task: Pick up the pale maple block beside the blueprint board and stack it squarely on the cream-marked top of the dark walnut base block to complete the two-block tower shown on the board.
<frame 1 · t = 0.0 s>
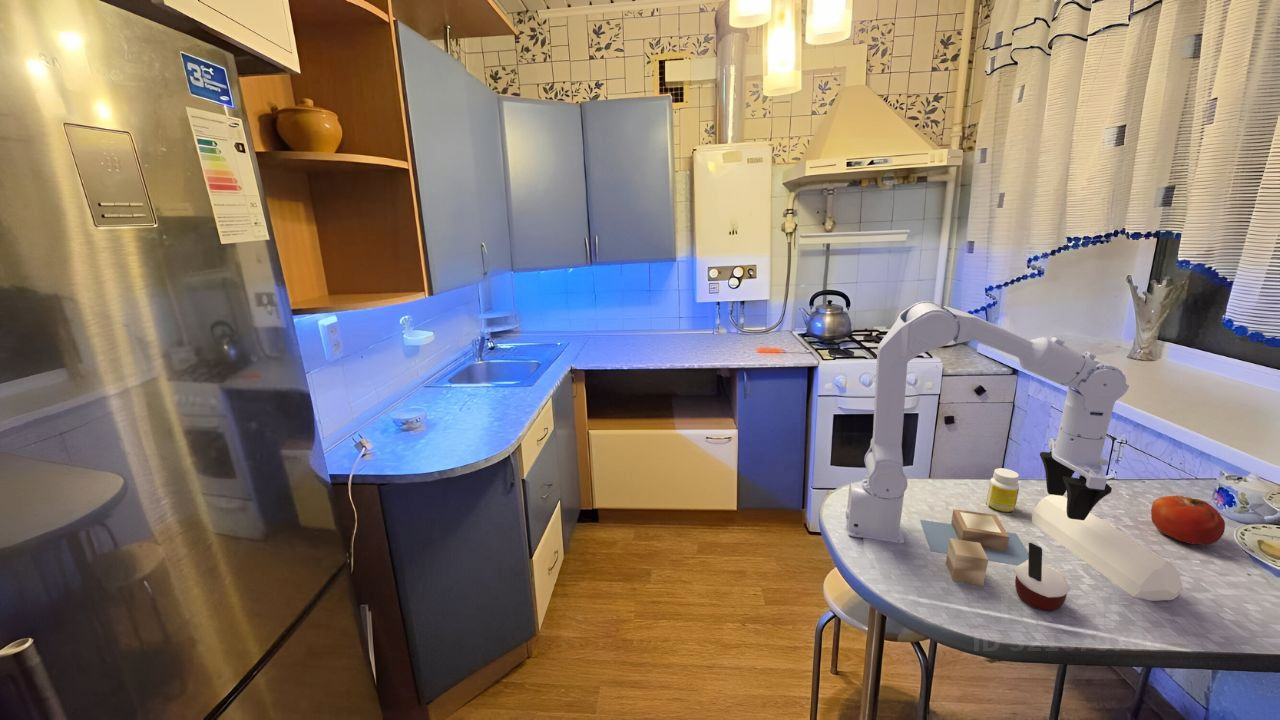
hand: (1064, 505, 84), 10 cm above the table, tool pointing down, fingers open, 7 cm apart
supplement bottle: (999, 510, 101), on the table
maple block: (963, 576, 83), on the table
blueprint board: (973, 544, 90), on the table
walnut base block: (977, 536, 92), resting on blueprint board
cocoa: (1034, 603, 77), on the table
crystal: (1096, 559, 86), on the table
tomato: (1180, 537, 91), on the table
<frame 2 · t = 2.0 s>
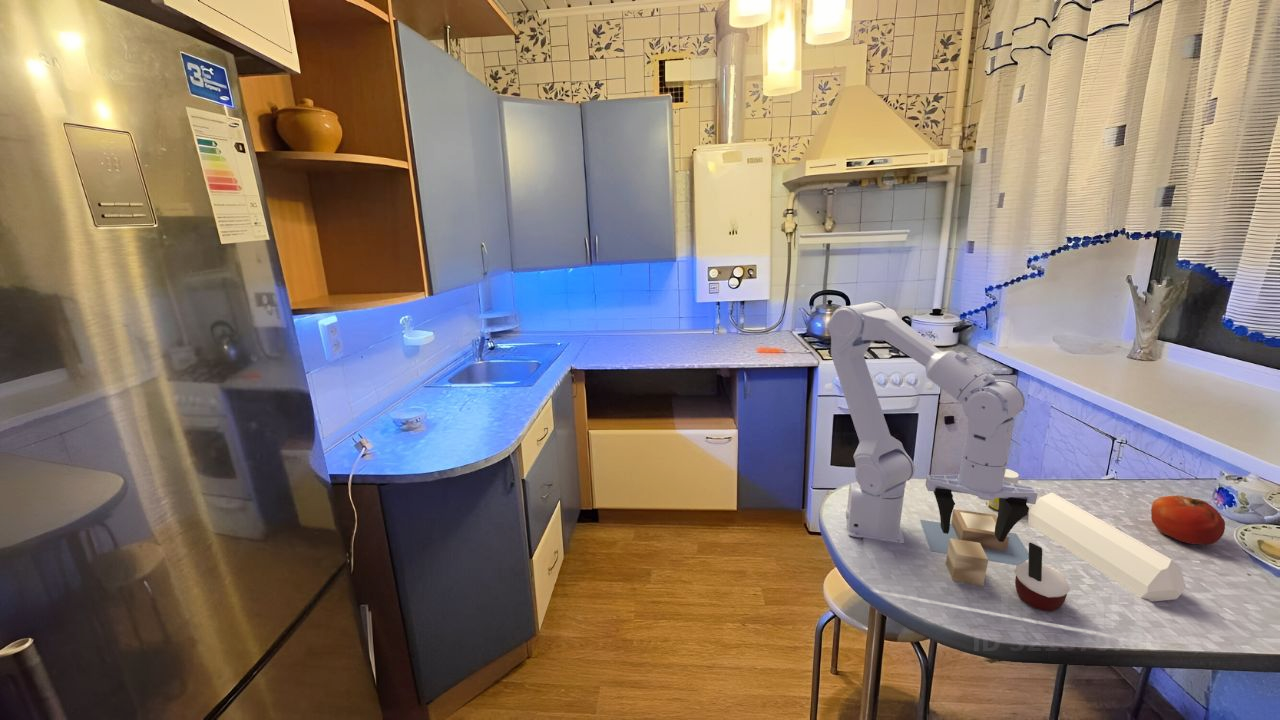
hand: (971, 534, 80), 8 cm above the table, tool pointing down, fingers open, 7 cm apart
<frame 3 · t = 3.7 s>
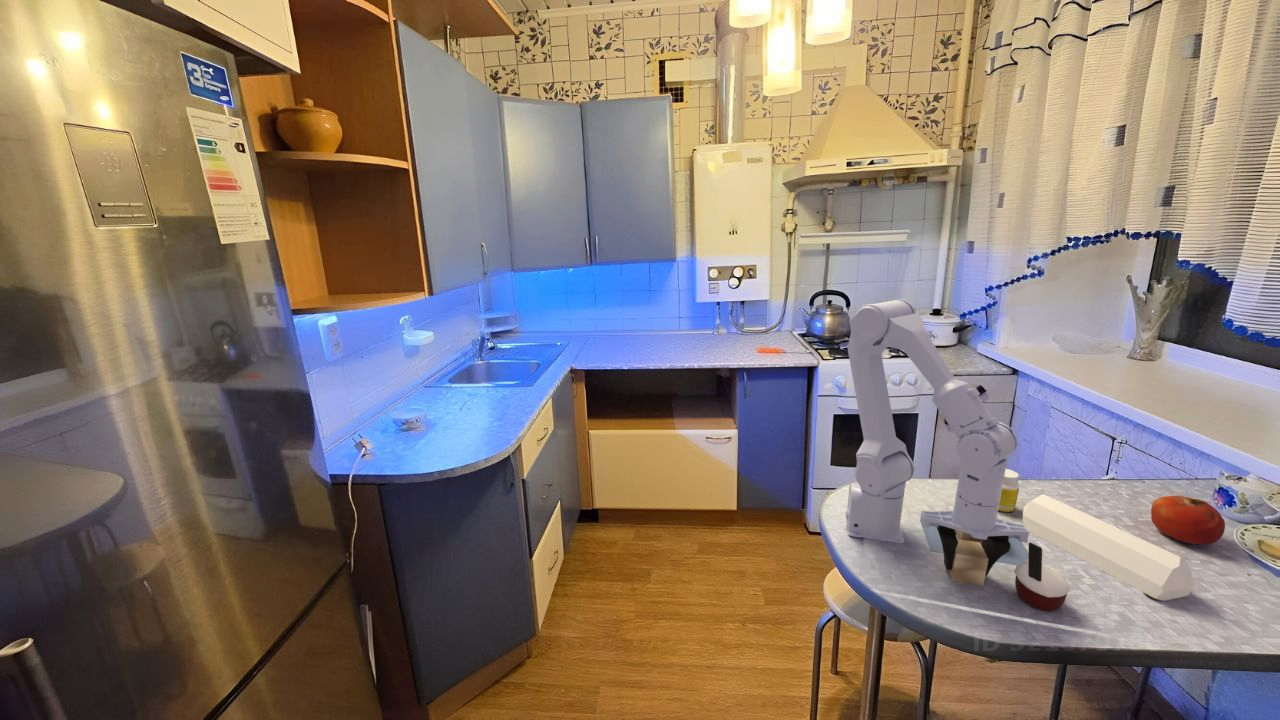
hand: (964, 569, 82), 1 cm above the table, tool pointing down, fingers closed on maple block, 4 cm apart
maple block: (963, 576, 83), on the table, touching gripper
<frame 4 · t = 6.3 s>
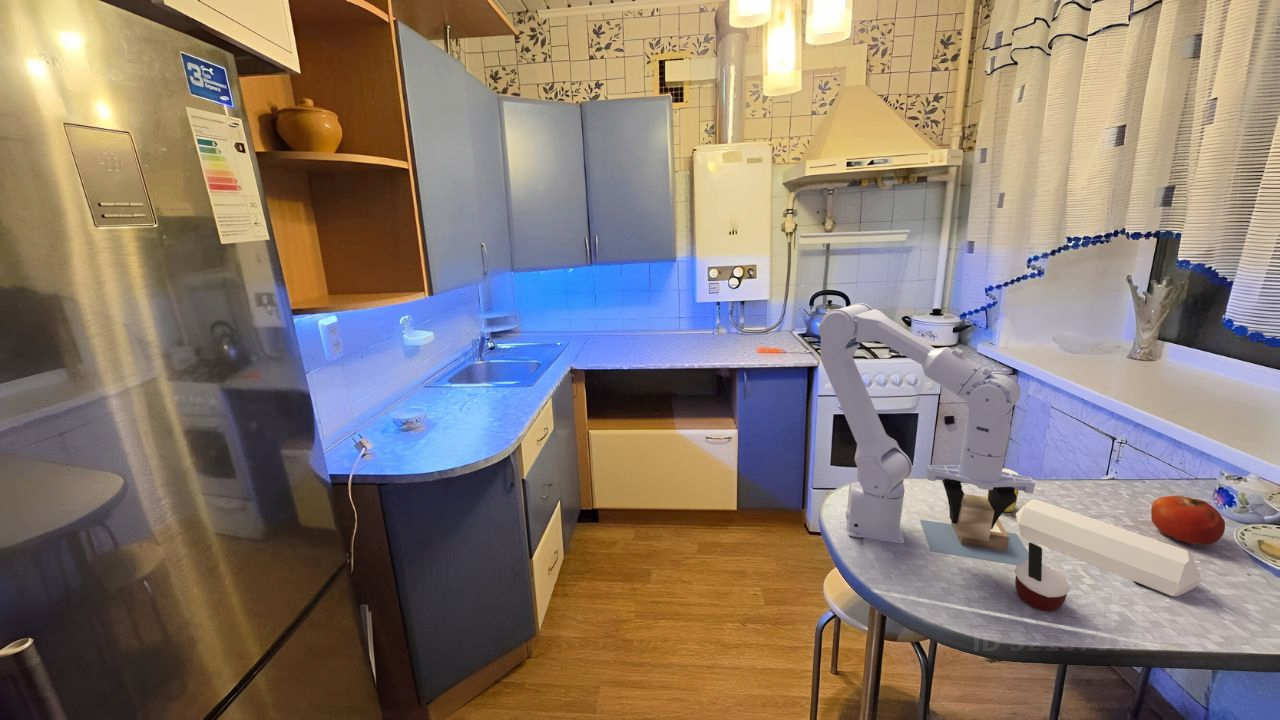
hand: (970, 522, 83), 9 cm above the table, tool pointing down, fingers closed on maple block, 4 cm apart
maple block: (969, 530, 83), point 7 cm above the table, touching gripper
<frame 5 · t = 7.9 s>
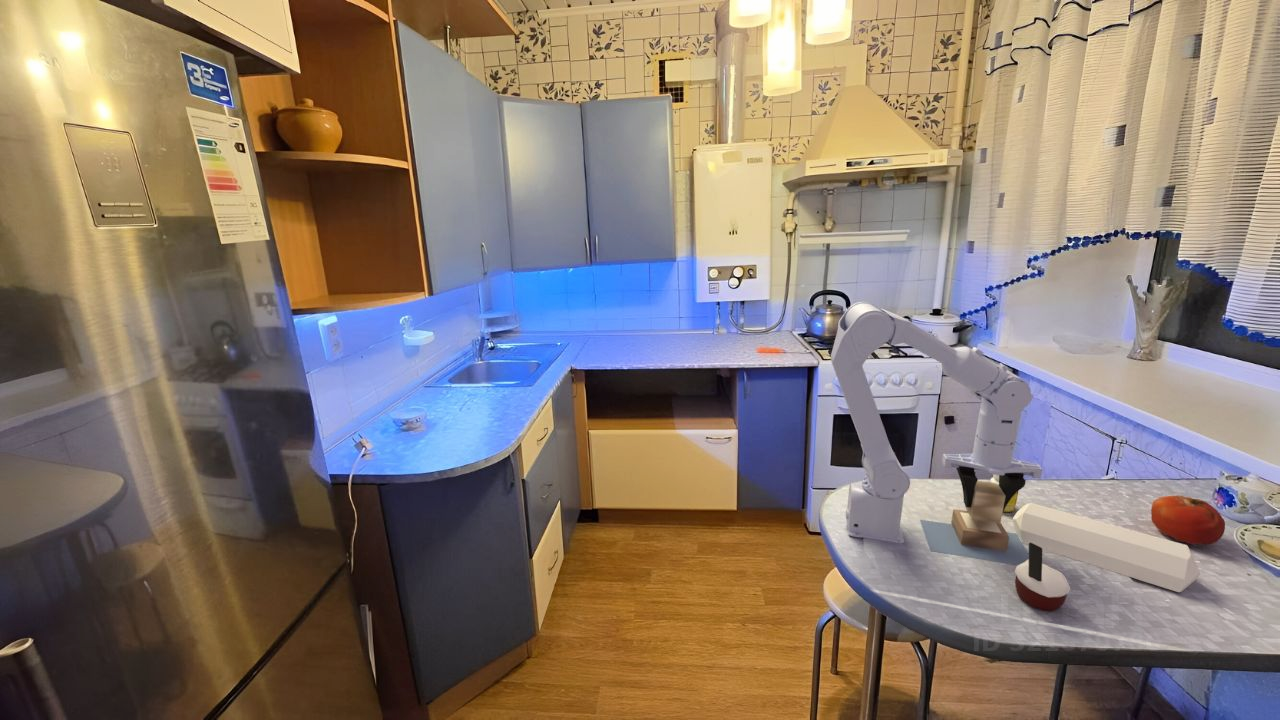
hand: (983, 506, 90), 7 cm above the table, tool pointing down, fingers closed on maple block, 4 cm apart
maple block: (982, 514, 90), point 5 cm above the table, touching gripper
when the fingers open (6 cm above the table, at t = 9.3 s): maple block stays where it is, resting on walnut base block.
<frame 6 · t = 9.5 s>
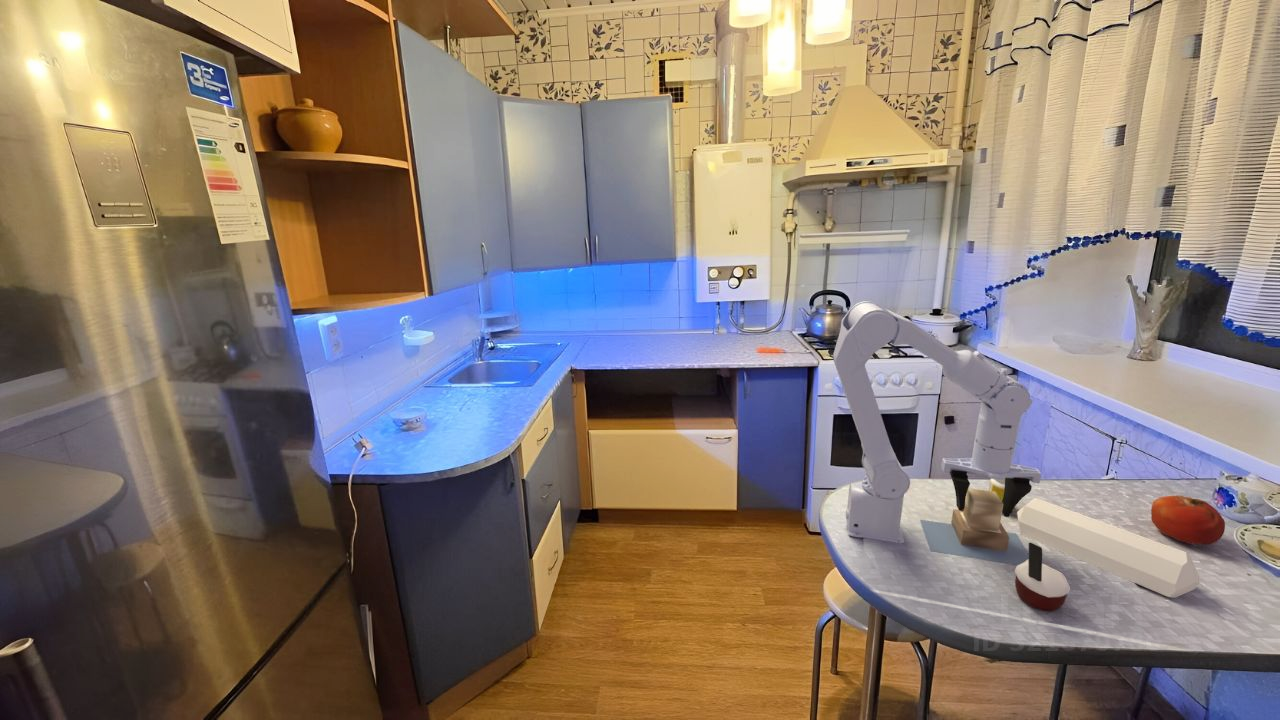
hand: (982, 510, 90), 6 cm above the table, tool pointing down, fingers open, 6 cm apart
maple block: (980, 522, 91), point 4 cm above the table, touching walnut base block
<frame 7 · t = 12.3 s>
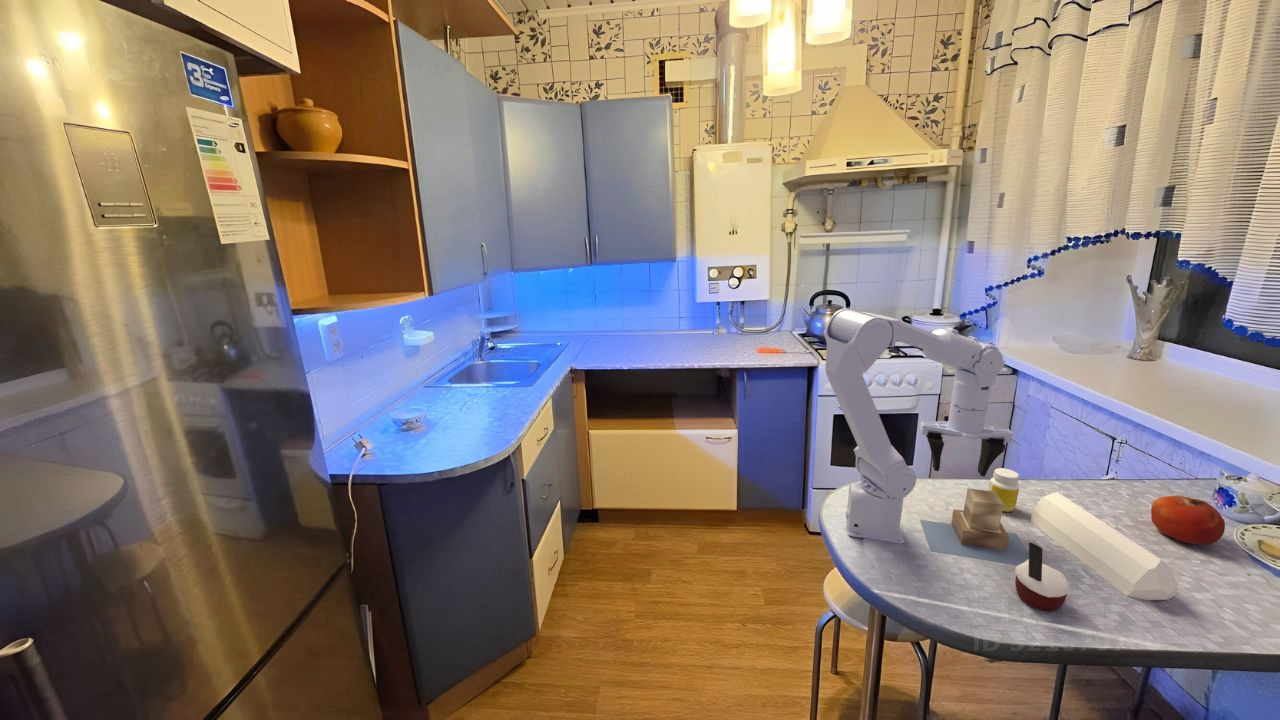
hand: (958, 471, 96), 10 cm above the table, tool pointing down, fingers open, 7 cm apart
at the end: maple block 0.2 cm off-centre on the walnut base block, point 3.0 cm above the walnut base block's base; maple block tilted 0°; maple block touching walnut base block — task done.
